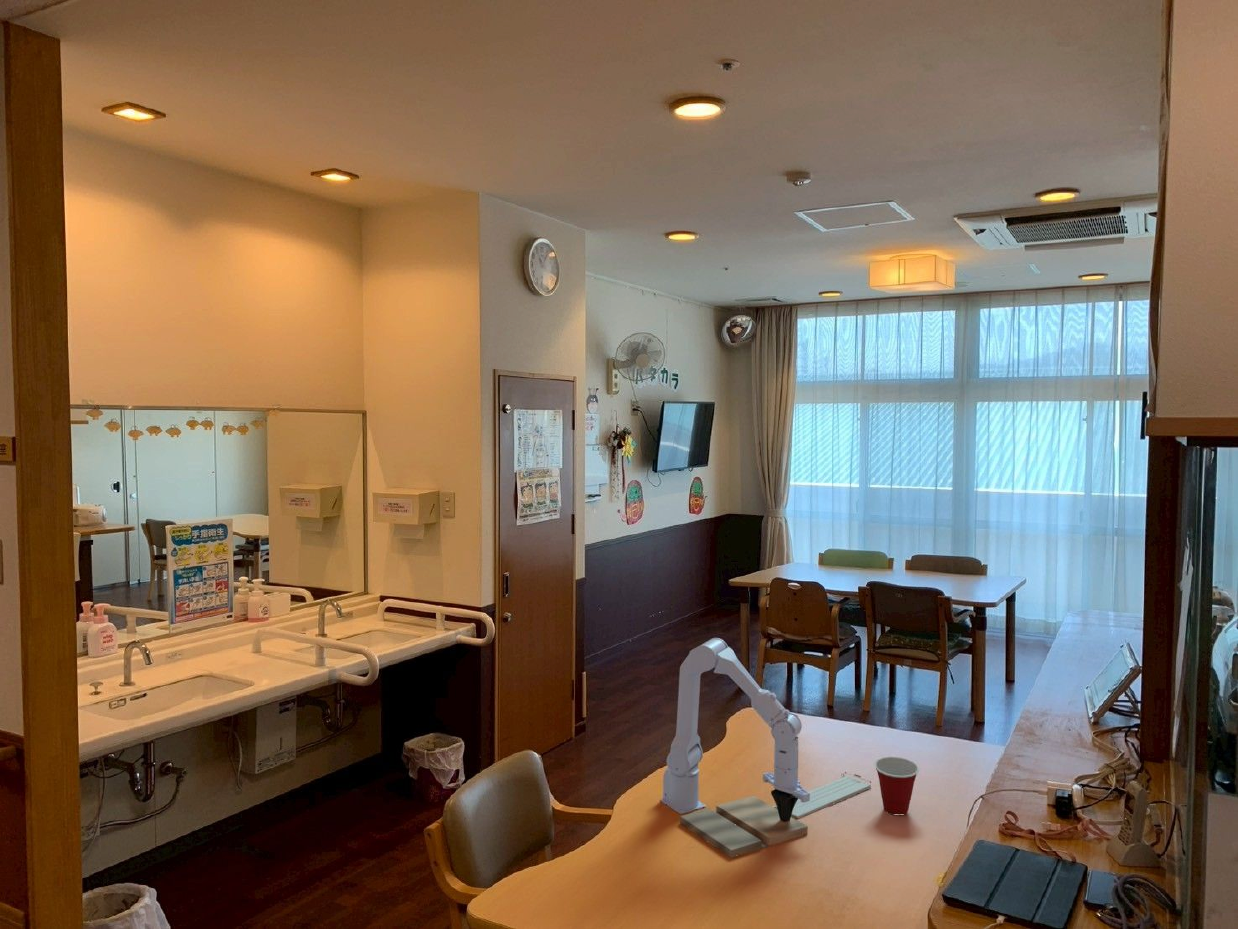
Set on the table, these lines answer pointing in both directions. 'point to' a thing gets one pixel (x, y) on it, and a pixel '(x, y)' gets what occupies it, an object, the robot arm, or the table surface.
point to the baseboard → (829, 795)
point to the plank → (761, 820)
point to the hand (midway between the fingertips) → (785, 820)
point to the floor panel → (721, 832)
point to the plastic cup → (896, 783)
